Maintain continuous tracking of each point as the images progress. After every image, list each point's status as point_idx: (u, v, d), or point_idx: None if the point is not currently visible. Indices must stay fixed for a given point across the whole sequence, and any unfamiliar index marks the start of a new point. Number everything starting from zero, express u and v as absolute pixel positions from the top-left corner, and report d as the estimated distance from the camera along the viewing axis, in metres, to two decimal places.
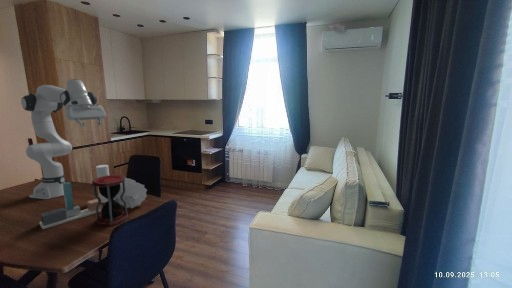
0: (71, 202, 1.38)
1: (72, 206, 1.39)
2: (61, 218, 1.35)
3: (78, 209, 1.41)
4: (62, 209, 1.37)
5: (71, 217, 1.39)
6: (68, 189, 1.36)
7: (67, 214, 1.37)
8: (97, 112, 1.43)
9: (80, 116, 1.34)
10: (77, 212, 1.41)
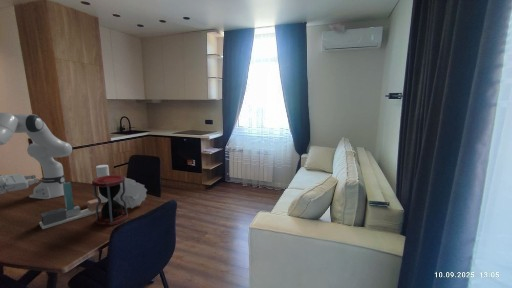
0: (71, 202, 1.38)
1: (72, 206, 1.39)
2: (61, 218, 1.35)
3: (78, 209, 1.41)
4: (62, 209, 1.37)
5: (71, 217, 1.39)
6: (68, 189, 1.36)
7: (67, 214, 1.37)
8: None
9: None
10: (77, 212, 1.41)
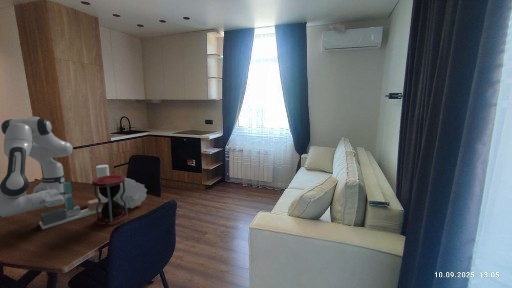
0: (71, 202, 1.38)
1: (72, 206, 1.39)
2: (61, 218, 1.35)
3: (78, 209, 1.41)
4: (62, 209, 1.37)
5: (71, 217, 1.39)
6: (68, 189, 1.36)
7: (67, 214, 1.37)
8: None
9: None
10: (77, 212, 1.41)
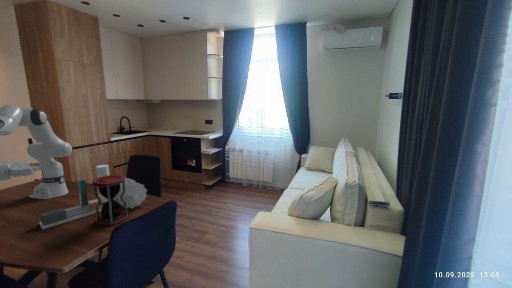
0: (85, 198, 1.44)
1: (86, 202, 1.44)
2: (61, 218, 1.35)
3: None
4: (62, 209, 1.37)
5: (71, 217, 1.39)
6: (82, 186, 1.41)
7: (81, 210, 1.43)
8: None
9: None
10: None
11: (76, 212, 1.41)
